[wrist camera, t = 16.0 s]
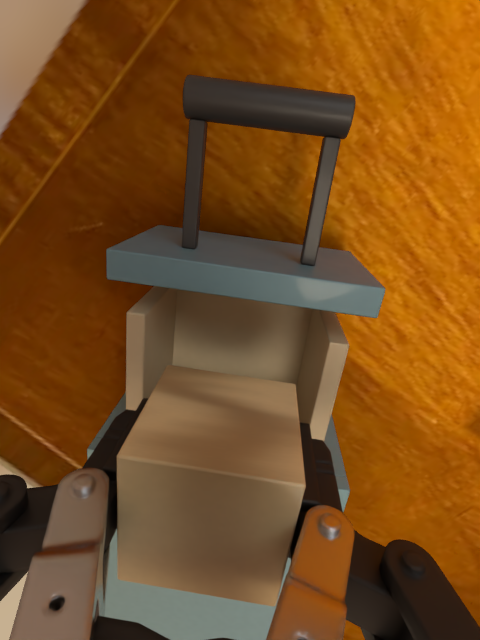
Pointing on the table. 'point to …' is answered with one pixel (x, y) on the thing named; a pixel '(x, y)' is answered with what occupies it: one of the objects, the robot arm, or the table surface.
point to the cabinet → (191, 608)
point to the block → (211, 486)
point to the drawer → (247, 267)
